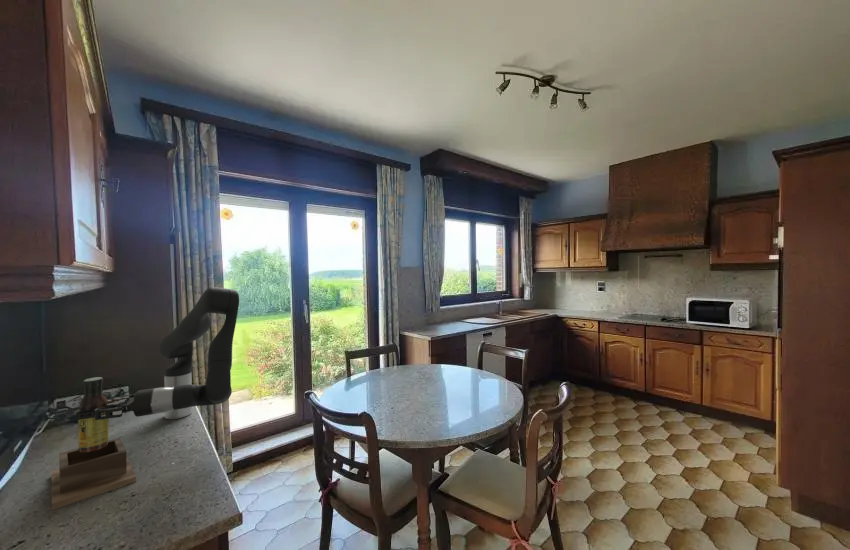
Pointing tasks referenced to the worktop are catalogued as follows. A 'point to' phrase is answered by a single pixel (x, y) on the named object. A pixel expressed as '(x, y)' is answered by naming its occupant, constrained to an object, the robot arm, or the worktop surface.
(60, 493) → the walnut caddy
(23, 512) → the worktop surface
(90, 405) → the sauce bottle
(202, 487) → the worktop surface
